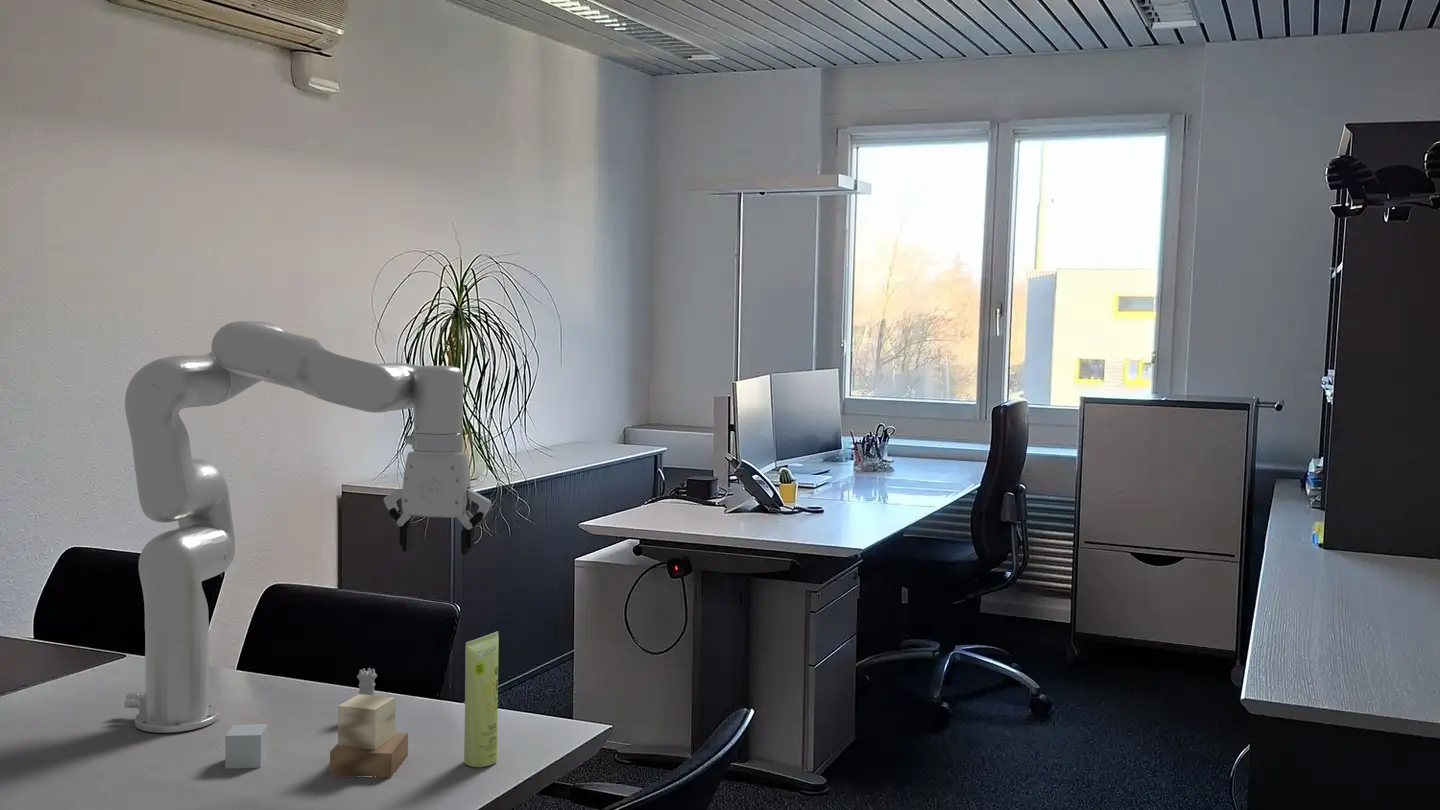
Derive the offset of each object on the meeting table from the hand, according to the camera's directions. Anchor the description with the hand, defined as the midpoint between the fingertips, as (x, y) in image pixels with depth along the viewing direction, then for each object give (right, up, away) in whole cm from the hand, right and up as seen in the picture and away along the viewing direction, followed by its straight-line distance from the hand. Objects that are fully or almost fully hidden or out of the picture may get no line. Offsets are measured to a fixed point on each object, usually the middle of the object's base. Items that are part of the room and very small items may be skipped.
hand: (436, 551), depth 190 cm
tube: (+8, -31, -8) cm, 33 cm away
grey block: (-26, -31, -10) cm, 41 cm away
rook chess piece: (-15, -30, +12) cm, 35 cm away
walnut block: (-8, -31, -10) cm, 34 cm away
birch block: (-8, -27, -10) cm, 30 cm away
